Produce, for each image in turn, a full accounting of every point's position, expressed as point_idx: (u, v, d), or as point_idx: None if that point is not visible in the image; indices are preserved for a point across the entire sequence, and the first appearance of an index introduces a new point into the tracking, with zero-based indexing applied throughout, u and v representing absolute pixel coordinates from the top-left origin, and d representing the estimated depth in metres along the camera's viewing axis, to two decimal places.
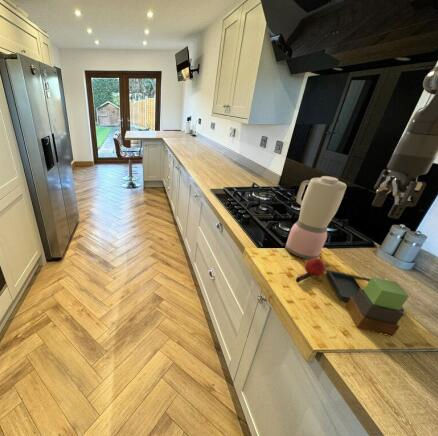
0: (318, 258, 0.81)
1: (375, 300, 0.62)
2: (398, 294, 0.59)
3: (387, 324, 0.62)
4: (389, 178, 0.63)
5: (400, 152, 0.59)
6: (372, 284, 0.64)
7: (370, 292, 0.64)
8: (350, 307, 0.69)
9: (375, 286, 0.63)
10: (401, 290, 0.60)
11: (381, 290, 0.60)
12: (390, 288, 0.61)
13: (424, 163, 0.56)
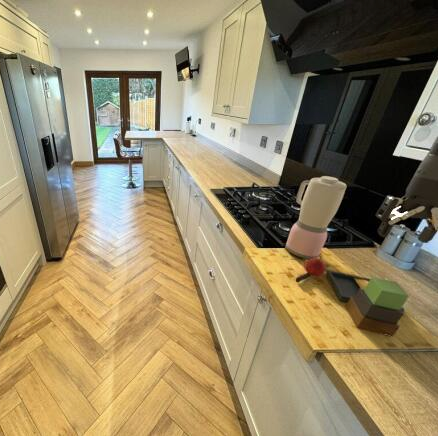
0: (318, 258, 0.81)
1: (375, 300, 0.62)
2: (398, 294, 0.59)
3: (387, 324, 0.62)
4: None
5: None
6: (372, 284, 0.64)
7: (370, 292, 0.64)
8: (350, 307, 0.69)
9: (375, 286, 0.63)
10: (401, 290, 0.60)
11: (381, 290, 0.60)
12: (390, 288, 0.61)
13: (417, 183, 0.53)
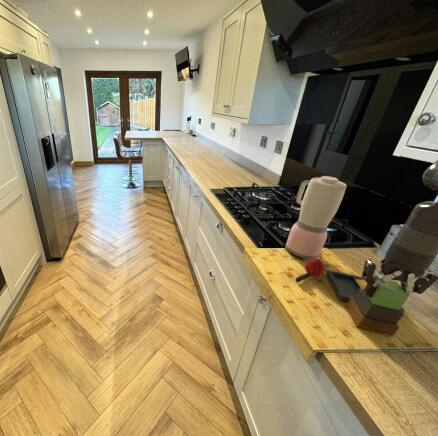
0: (318, 258, 0.81)
1: (375, 300, 0.62)
2: (398, 294, 0.59)
3: (387, 324, 0.62)
4: None
5: None
6: None
7: None
8: (350, 307, 0.69)
9: None
10: (401, 290, 0.60)
11: (381, 290, 0.60)
12: (390, 288, 0.61)
13: (394, 249, 0.57)
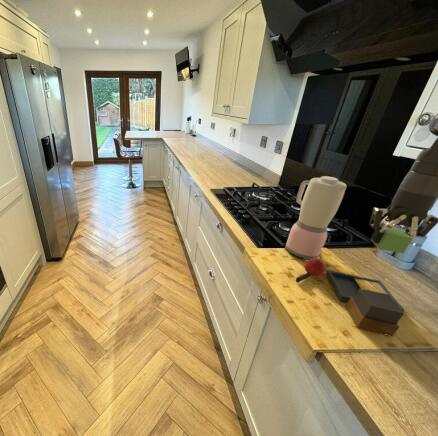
0: (318, 258, 0.81)
1: (381, 245, 0.67)
2: (403, 237, 0.65)
3: (387, 324, 0.62)
4: None
5: None
6: None
7: None
8: (350, 307, 0.69)
9: None
10: (405, 234, 0.66)
11: (387, 234, 0.66)
12: (395, 233, 0.66)
13: (400, 195, 0.63)
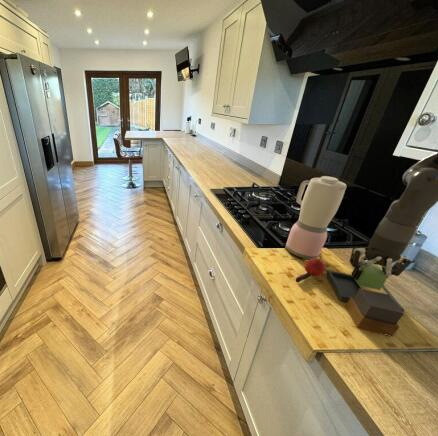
0: (318, 258, 0.81)
1: (360, 282, 0.73)
2: (379, 276, 0.71)
3: (387, 324, 0.62)
4: None
5: None
6: None
7: None
8: (350, 307, 0.69)
9: None
10: (382, 273, 0.72)
11: (365, 273, 0.72)
12: (372, 271, 0.72)
13: (375, 238, 0.69)
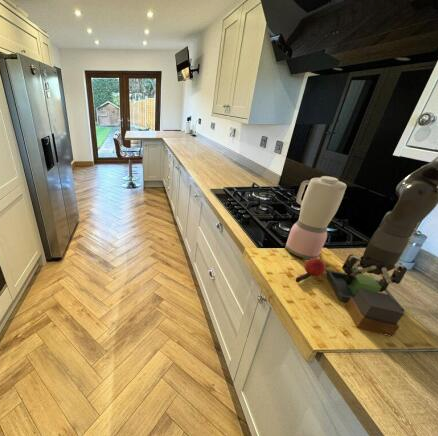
0: (318, 258, 0.81)
1: (354, 291, 0.75)
2: (373, 286, 0.73)
3: (387, 324, 0.62)
4: None
5: None
6: None
7: (351, 285, 0.78)
8: (350, 307, 0.69)
9: (355, 280, 0.76)
10: (375, 283, 0.74)
11: (359, 283, 0.74)
12: (367, 281, 0.74)
13: (370, 248, 0.71)
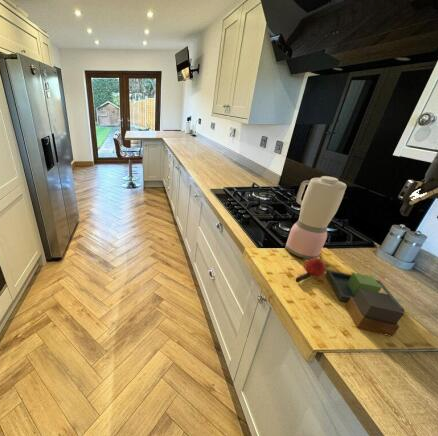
0: (318, 258, 0.81)
1: (354, 291, 0.75)
2: (373, 286, 0.73)
3: (387, 324, 0.62)
4: None
5: None
6: (353, 278, 0.77)
7: (351, 285, 0.78)
8: (350, 307, 0.69)
9: (355, 280, 0.76)
10: (375, 283, 0.74)
11: (359, 283, 0.74)
12: (367, 281, 0.74)
13: (434, 168, 0.63)
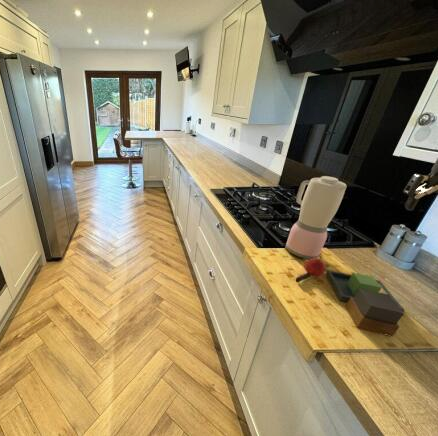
0: (318, 258, 0.81)
1: (354, 291, 0.75)
2: (373, 286, 0.73)
3: (387, 324, 0.62)
4: None
5: None
6: (353, 278, 0.77)
7: (351, 285, 0.78)
8: (350, 307, 0.69)
9: (355, 280, 0.76)
10: (375, 283, 0.74)
11: (359, 283, 0.74)
12: (367, 281, 0.74)
13: None
